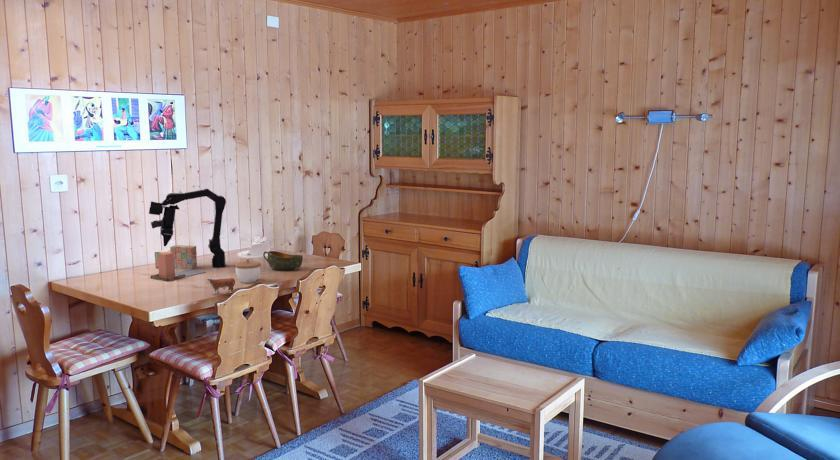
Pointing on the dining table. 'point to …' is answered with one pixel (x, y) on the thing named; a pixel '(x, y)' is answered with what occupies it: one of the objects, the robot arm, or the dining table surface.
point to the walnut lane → (167, 278)
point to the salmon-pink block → (166, 264)
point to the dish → (257, 249)
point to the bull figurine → (221, 284)
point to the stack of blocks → (181, 256)
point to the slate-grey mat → (189, 272)
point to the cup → (283, 261)
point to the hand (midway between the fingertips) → (164, 244)
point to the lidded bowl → (248, 271)
